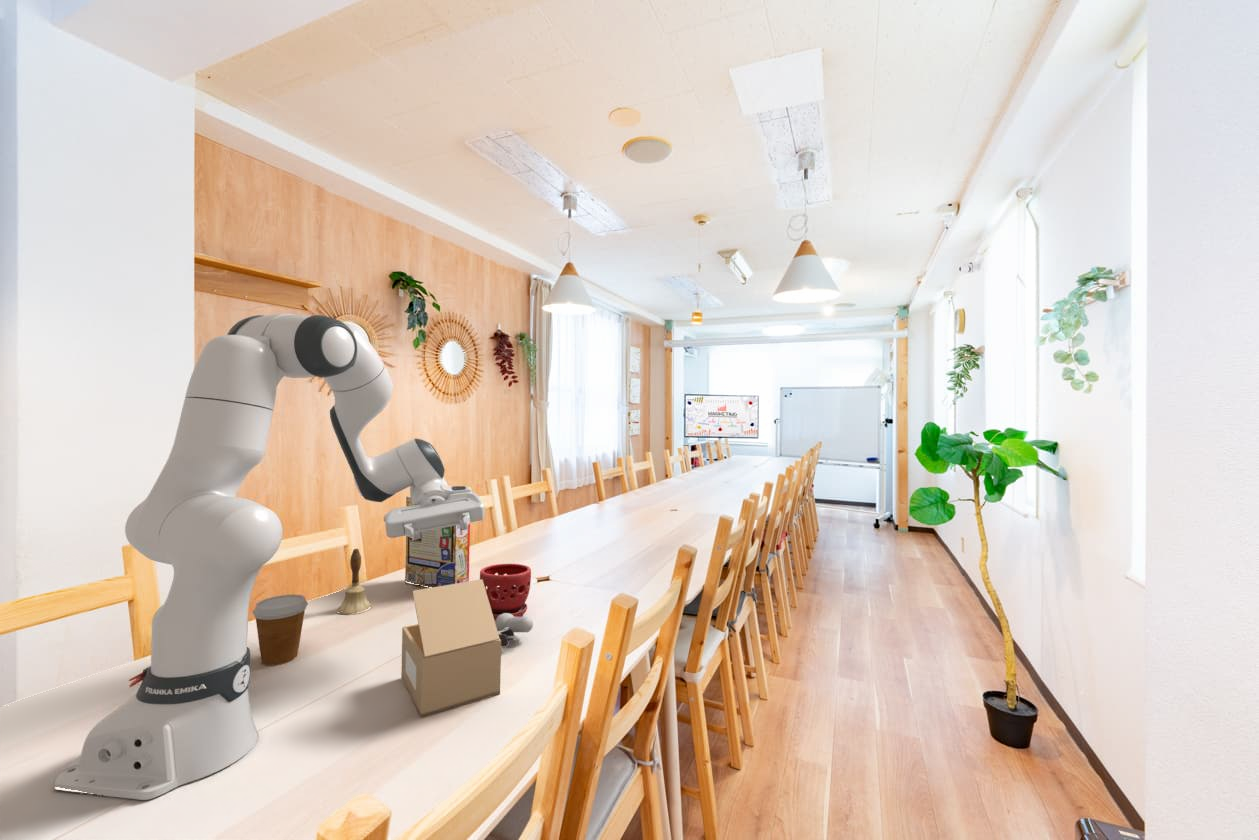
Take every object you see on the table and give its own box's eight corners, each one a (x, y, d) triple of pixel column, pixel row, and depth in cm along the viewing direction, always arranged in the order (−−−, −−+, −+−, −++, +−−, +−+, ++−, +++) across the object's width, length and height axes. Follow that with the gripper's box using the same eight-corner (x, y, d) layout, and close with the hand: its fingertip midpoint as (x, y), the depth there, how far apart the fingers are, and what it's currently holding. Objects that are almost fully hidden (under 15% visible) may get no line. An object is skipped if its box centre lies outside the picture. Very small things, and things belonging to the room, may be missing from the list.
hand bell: (378, 607, 136) (379, 548, 136) (347, 617, 129) (348, 554, 129) (361, 601, 140) (362, 543, 140) (330, 610, 133) (331, 549, 133)
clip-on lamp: (449, 652, 117) (505, 654, 108) (444, 625, 117) (499, 625, 108) (487, 630, 127) (541, 630, 118) (482, 605, 128) (535, 603, 119)
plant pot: (538, 617, 132) (539, 571, 132) (488, 628, 124) (489, 579, 124) (519, 601, 142) (519, 559, 142) (472, 610, 135) (473, 565, 135)
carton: (400, 678, 99) (401, 627, 99) (472, 659, 108) (473, 612, 108) (420, 718, 86) (421, 659, 86) (500, 693, 94) (501, 640, 94)
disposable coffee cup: (246, 658, 106) (248, 601, 106) (299, 644, 113) (300, 590, 113) (257, 674, 100) (258, 613, 100) (312, 658, 107) (313, 601, 107)
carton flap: (412, 592, 95) (412, 590, 95) (481, 580, 102) (482, 579, 102) (424, 657, 87) (425, 656, 86) (499, 639, 94) (499, 638, 94)
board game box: (469, 588, 153) (471, 498, 153) (454, 594, 147) (456, 501, 147) (419, 578, 161) (421, 493, 161) (403, 584, 155) (405, 495, 155)
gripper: (381, 501, 111) (382, 528, 99) (477, 484, 120) (488, 508, 108) (385, 526, 113) (386, 557, 101) (479, 509, 122) (490, 534, 110)
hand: (440, 531), depth 105 cm, fingers open, 8 cm apart
